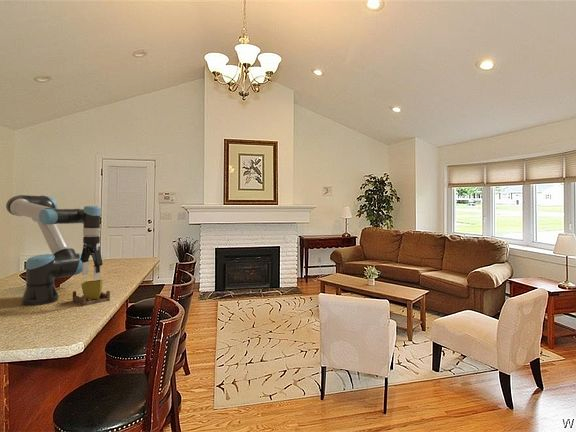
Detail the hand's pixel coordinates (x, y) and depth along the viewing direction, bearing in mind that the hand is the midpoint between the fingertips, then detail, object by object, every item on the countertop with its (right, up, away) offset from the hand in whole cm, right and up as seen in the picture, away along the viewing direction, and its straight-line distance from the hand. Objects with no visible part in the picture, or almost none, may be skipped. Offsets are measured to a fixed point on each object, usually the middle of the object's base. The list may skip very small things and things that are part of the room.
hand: (90, 276), depth 179 cm
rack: (0, -13, 0) cm, 13 cm away
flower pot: (+2, -12, -1) cm, 12 cm away
